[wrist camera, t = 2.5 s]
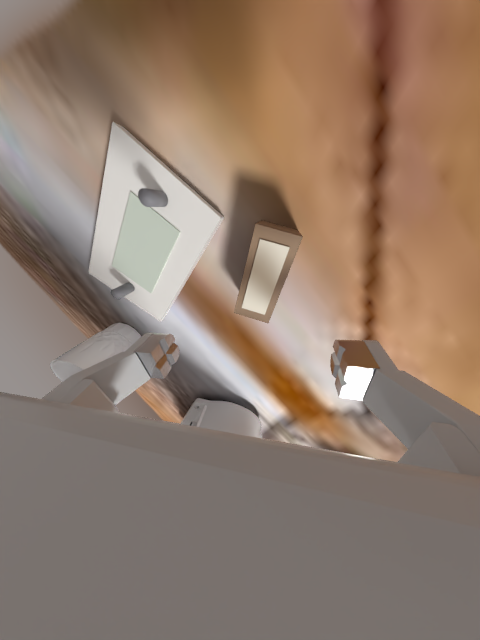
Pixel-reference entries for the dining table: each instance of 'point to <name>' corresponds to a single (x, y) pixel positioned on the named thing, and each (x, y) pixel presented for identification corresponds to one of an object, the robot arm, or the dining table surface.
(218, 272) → the dining table surface
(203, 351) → the dining table surface
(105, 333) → the pale white cylinder
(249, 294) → the walnut frame
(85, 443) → the robot arm
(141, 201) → the wall panel
